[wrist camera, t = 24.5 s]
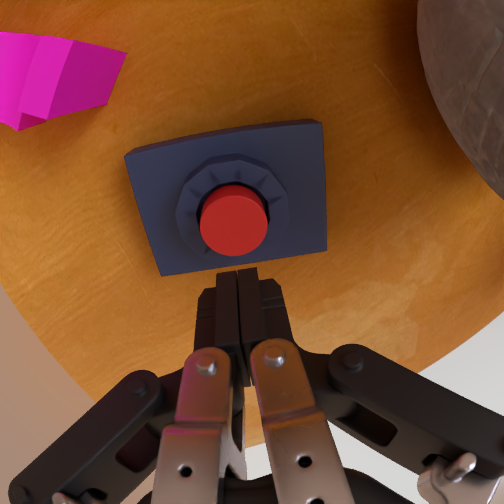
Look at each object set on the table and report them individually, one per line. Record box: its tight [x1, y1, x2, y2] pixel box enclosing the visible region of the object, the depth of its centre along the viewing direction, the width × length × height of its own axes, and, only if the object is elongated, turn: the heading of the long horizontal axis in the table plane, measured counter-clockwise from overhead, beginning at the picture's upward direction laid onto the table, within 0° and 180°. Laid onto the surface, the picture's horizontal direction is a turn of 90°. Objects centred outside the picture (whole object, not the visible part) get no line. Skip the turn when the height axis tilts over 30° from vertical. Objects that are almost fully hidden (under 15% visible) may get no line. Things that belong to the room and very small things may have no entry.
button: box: [200, 185, 268, 256], centre depth 16 cm, size 4×4×2 cm
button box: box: [124, 119, 327, 276], centre depth 19 cm, size 12×9×4 cm
